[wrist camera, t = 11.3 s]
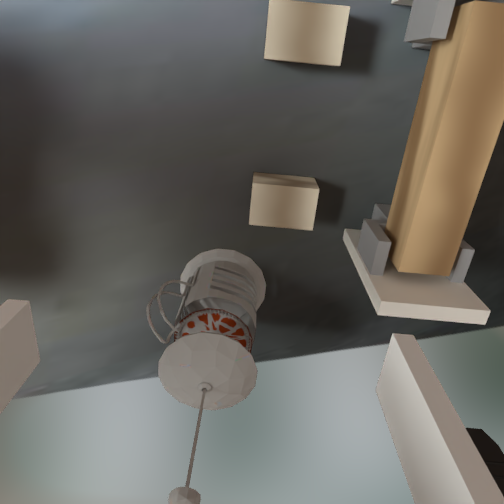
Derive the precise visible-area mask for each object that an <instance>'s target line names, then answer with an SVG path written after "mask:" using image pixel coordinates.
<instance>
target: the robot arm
mask: <svg viewBox="0 0 504 504" xmlns="http://www.w3.org/2000/svg"><path fill="white" fill-rule="evenodd" d="M39 362H40V356H39V351H38V345H37V340H36V334H35V329H34V323H33V318H32V312H31V307H30V301H25V300H13V299H7V300H6V301H5V302H4V303H3V304H2V305H1V306H0V414H1V413H2V411H3V410H4V409H5V407H6V406H7V405H8V403H9V402H10V401H11V399H12V398H13V397H14V395H15V394H16V393H17V391H18V390H19V389H20V387H21V386H22V385H23V383H24V382H25V381H26V379H27V378H28V377H29V375H30V374H31V373H32V371H33V370H34V369H35V367H36V366H37V365H38V364H39ZM376 393H377V395H378V398H379V401H380V404H381V407H382V410H383V413H384V416H385V418H386V422H387V424H388V427H389V430H390V433H391V436H392V439H393V442H394V445H395V448H396V450H397V453H398V456H399V459H400V462H401V465H402V468H403V471H404V473H405V476H406V479H407V482H408V485H409V488H410V491H411V494H412V497H413V499H414V502H415V504H504V454H503V452H502V451H501V449H500V447H499V446H498V445H497V444H496V443H495V442H494V441H493V440H492V439H491V438H490V437H489V436H488V435H487V434H486V433H485V432H484V431H483V430H482V429H474V428H465V427H464V425H463V423H462V421H461V419H460V418H459V416H458V414H457V412H456V410H455V409H454V407H453V405H452V403H451V402H450V400H449V398H448V396H447V394H446V393H445V391H444V389H443V387H442V385H441V384H440V382H439V380H438V378H437V377H436V375H435V373H434V371H433V369H432V368H431V366H430V364H429V363H428V360H427V358H426V357H425V355H424V353H423V351H422V350H421V348H420V346H419V344H418V343H417V341H416V339H415V337H414V335H407V334H396V333H393V334H392V337H391V340H390V344H389V347H388V350H387V354H386V357H385V360H384V364H383V367H382V371H381V374H380V377H379V380H378V384H377V387H376Z"/></svg>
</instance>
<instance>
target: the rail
mask: <svg viewBox="0 0 504 504" xmlns="http://www.w3.org/2000/svg"><path fill="white" fill-rule="evenodd" d="M503 121H504V3H496V2H486V1H477V0H475V1H472V2H469V3H465V4H462V5H459V6H456V7H454V9H453V12H452V16H451V20H450V24H449V28H448V31H447V35H446V39H442V40H436V41H433V42H432V46H431V50H430V54H429V58H428V62H427V66H426V70H425V74H424V78H423V82H422V86H421V90H420V94H419V98H418V102H417V105H416V109H415V113H414V117H413V121H412V125H411V129H410V133H409V137H408V141H407V145H406V149H405V153H404V157H403V161H402V165H401V169H400V172H399V176H398V180H397V184H396V188H395V192H394V196H393V200H392V204H391V208H390V212H389V216H388V220H387V224H386V228H385V232H384V233H385V234H386V235H387V237H388V238H389V239H390V241H391V246H390V250H389V254H388V257H389V258H390V260H391V261H392V263H393V264H394V266H395V267H396V269H397V270H398V272H407V273H418V274H429V275H440V276H450V273H451V270H452V267H453V264H454V261H455V258H456V255H457V253H458V250H459V247H460V244H461V241H462V238H463V235H464V233H465V230H466V227H467V224H468V221H469V218H470V215H471V213H472V210H473V207H474V204H475V201H476V198H477V195H478V192H479V190H480V187H481V184H482V181H483V178H484V175H485V172H486V170H487V167H488V164H489V161H490V158H491V155H492V152H493V150H494V147H495V144H496V141H497V138H498V135H499V132H500V129H501V127H502V124H503Z"/></svg>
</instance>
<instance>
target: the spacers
mask: <svg viewBox="0 0 504 504" xmlns="http://www.w3.org/2000/svg"><path fill="white" fill-rule="evenodd" d="M349 11H350V6H340V5H331V4H321V3H311V2H301V1H291V0H269V10H268V21H267V32H266V43H265V54H264V59H267V60H277V61H287V62H297V63H307V64H317V65H327V66H340V64H341V58H342V52H343V46H344V40H345V34H346V29H347V23H348V17H349ZM318 195H319V187H318V185H317V183H316V181H315V178H311V177H301V176H290V175H280V174H269V173H259V172H254V174H253V184H252V195H251V206H250V217H249V225H258V226H269V227H279V228H290V229H301V230H312V231H313V225H314V219H315V213H316V207H317V201H318Z"/></svg>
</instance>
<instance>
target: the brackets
mask: <svg viewBox="0 0 504 504" xmlns="http://www.w3.org/2000/svg"><path fill="white" fill-rule="evenodd" d="M472 1H475V0H392V2H391V4H398V5H408V6H412V8H411V12H410V17H409V21H408V26H407V30H406V34H405V39H404V42H410V43H412V48H419V49H429V50H431V46H432V42H433V41H436V40H442V39H446V35H447V31H448V28H449V24H450V20H451V16H452V12H453V9H454V7H456V6H459V5H462V4H465V3H469V2H472ZM477 1H486V2H496V3H504V0H477ZM390 208H391V205H389V204H378V203H375V205H374V210H373V214H372V218H371V219H364V220H363V225H362V229H361V230H357V229H346V228H345V230H344V235H343V241H344V243H345V245H346V247H347V249H348V252H349V254H350V256H351V258H352V260H353V263H354V265H355V267H356V269H357V271H358V273H359V276H360V278H361V280H362V282H363V284H364V287H365V289H366V291H367V293H368V295H369V297H370V300H371V302H372V304H373V306H374V308H375V310H376V313H377V315H383V316H394V317H405V318H416V319H427V320H439V321H450V322H461V323H472V324H483V325H485V324H486V322H487V319H488V317H489V315H490V312H491V311H490V310H489V308H488V307H487V306H486V305H485V304H484V303H483V302H482V301H481V300H480V299H479V298H478V297H477V295H476V294H475V293H474V292H473V291H472V290H471V289H470V288H469V287H468V286H467V285H466V284H465V283H464V279H465V276H466V273H467V270H468V268H469V265H470V262H471V260H472V257H473V254H474V252H475V249H473V248H472V247H471V246H470V245H469V244H468V243H466V242H465V241H464V240H463V239H462V241H461V244H460V247H459V250H458V253H457V255H456V258H455V261H454V264H453V267H452V270H451V273H450V276H440V275H429V274H418V273H407V272H398V270H397V269H396V267H395V266H394V264H393V263H392V261H391V260H390V258H389V257H388V254H389V250H390V246H391V241H390V239H389V238H388V237H387V235H386V234H385V233H384V232H385V228H386V224H387V220H388V216H389V212H390Z"/></svg>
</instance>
